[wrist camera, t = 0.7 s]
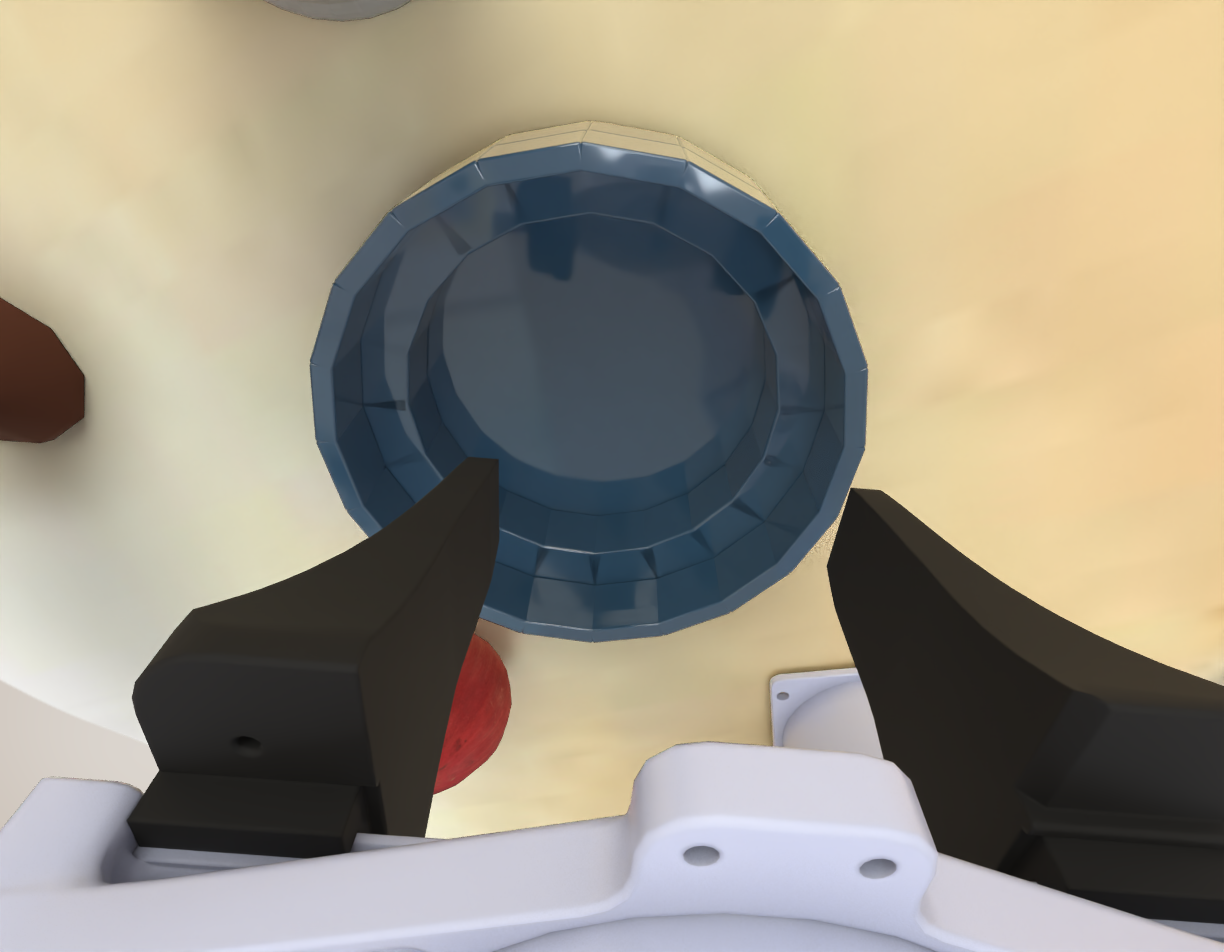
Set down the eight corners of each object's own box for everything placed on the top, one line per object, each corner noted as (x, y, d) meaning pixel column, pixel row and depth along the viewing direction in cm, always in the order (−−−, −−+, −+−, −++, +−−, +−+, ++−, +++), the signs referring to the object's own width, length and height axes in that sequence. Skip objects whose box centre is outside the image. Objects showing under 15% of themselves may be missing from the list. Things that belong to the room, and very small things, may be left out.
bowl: (823, 524, 26) (860, 618, 22) (444, 566, 28) (410, 661, 24) (823, 77, 19) (878, 89, 14) (299, 169, 20) (210, 205, 16)
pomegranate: (530, 679, 31) (502, 857, 25) (403, 682, 32) (340, 858, 25) (512, 578, 28) (474, 750, 21) (372, 583, 29) (290, 753, 22)
